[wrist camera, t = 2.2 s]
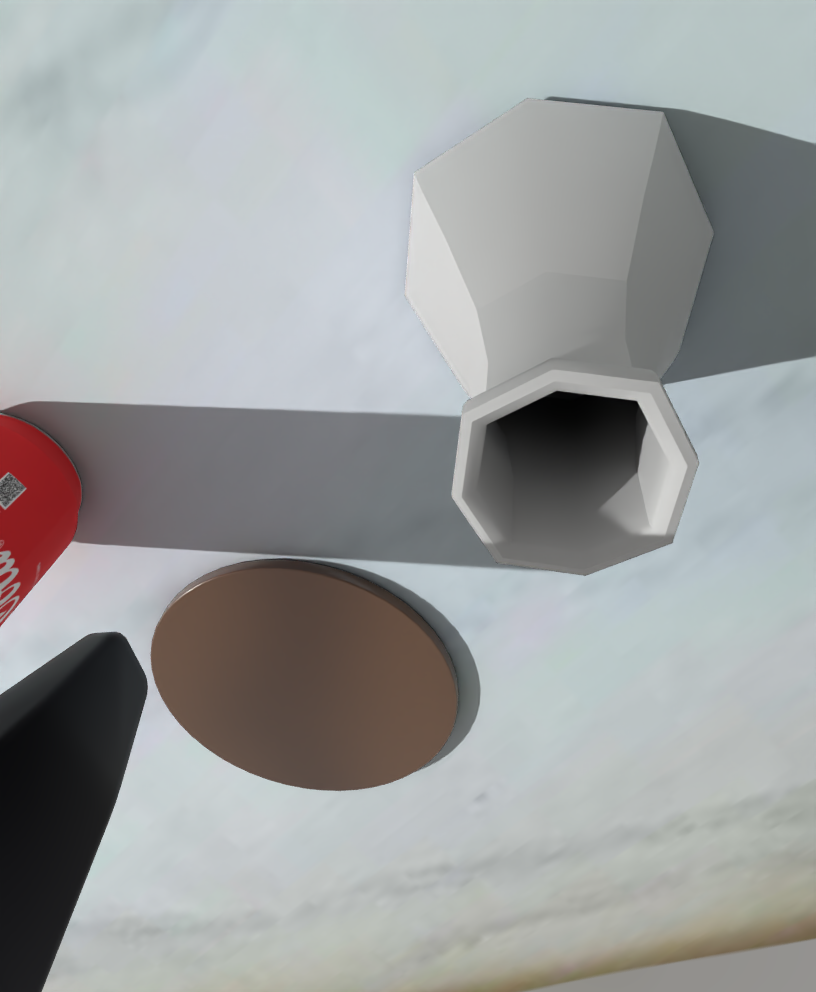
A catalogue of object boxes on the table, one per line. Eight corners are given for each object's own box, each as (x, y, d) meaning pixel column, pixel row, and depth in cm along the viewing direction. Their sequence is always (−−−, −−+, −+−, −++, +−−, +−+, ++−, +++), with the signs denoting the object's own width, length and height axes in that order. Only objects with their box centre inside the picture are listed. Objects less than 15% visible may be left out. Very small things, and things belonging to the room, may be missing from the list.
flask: (367, 138, 17) (218, 267, 9) (704, 50, 16) (904, 110, 7) (437, 419, 21) (378, 695, 13) (717, 373, 19) (861, 659, 11)
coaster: (427, 545, 23) (426, 556, 23) (479, 778, 29) (479, 790, 29) (107, 571, 26) (101, 581, 25) (213, 782, 31) (209, 793, 31)
